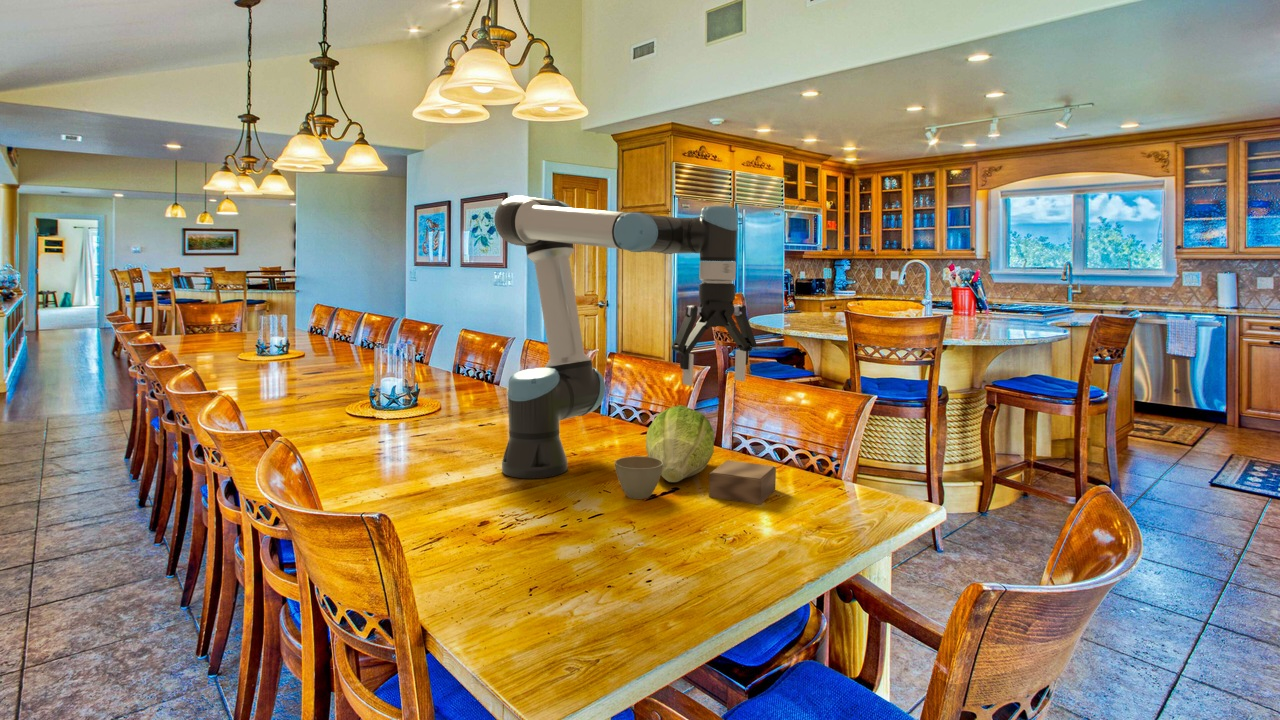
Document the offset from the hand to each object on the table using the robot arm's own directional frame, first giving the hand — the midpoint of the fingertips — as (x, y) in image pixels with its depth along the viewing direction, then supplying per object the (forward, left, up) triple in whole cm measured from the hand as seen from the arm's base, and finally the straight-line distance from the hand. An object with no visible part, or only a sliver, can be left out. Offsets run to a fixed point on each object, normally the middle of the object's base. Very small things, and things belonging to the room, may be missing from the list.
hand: (714, 382), depth 149 cm
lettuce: (-11, +6, -23) cm, 26 cm away
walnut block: (+7, -1, -23) cm, 24 cm away
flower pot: (-12, -12, -23) cm, 29 cm away
